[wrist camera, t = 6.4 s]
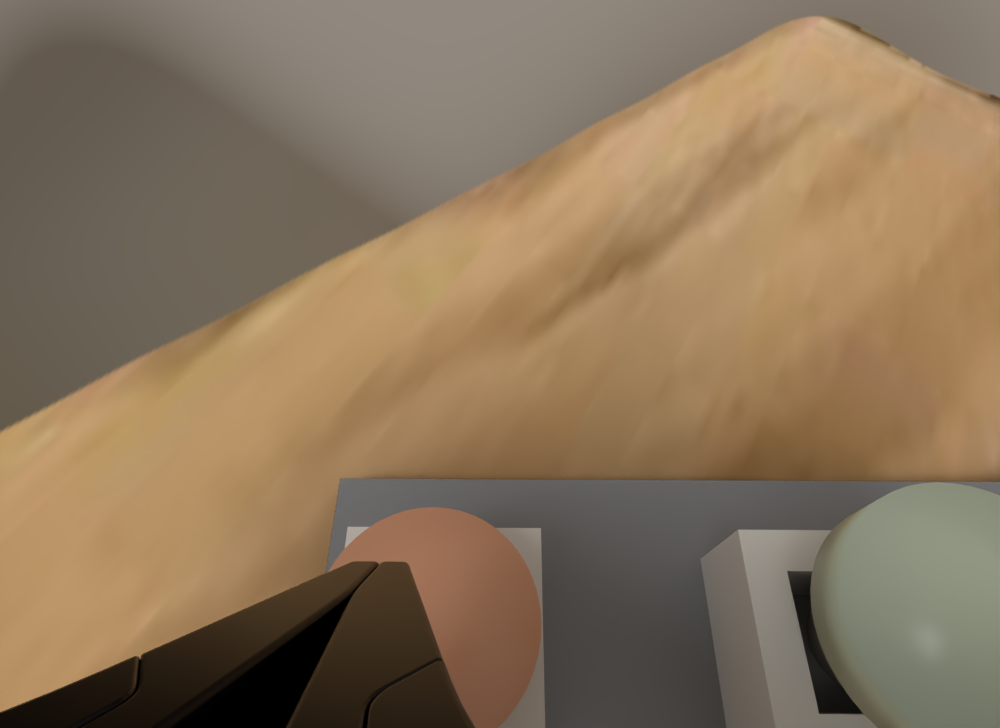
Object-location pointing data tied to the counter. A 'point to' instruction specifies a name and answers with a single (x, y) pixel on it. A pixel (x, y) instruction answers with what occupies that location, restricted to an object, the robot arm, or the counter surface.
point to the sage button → (913, 607)
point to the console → (657, 592)
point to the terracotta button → (466, 601)
